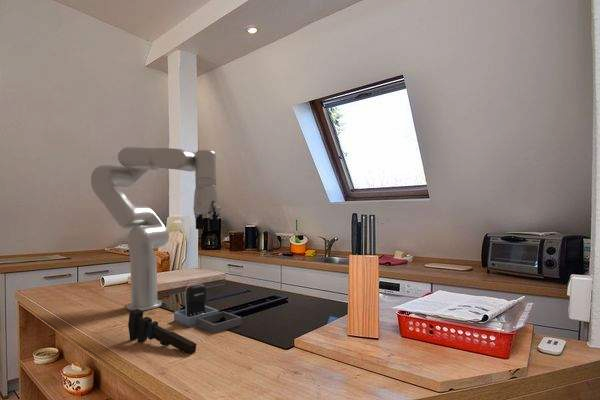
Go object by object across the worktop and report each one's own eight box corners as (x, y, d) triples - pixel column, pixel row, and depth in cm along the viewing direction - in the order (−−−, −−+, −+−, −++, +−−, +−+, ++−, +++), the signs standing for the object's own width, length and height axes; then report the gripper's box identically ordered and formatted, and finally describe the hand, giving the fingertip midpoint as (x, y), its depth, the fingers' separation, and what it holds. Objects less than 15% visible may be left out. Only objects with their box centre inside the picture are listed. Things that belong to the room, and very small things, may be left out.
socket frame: (197, 325, 120) (197, 318, 120) (223, 318, 127) (223, 311, 127) (214, 333, 113) (214, 325, 113) (241, 324, 120) (241, 317, 120)
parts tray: (174, 320, 126) (173, 311, 126) (203, 313, 134) (203, 305, 134) (188, 327, 119) (188, 318, 119) (218, 319, 127) (218, 310, 127)
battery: (190, 322, 122) (189, 287, 122) (184, 319, 125) (183, 286, 125) (208, 317, 127) (208, 284, 127) (202, 315, 130) (202, 282, 130)
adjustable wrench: (186, 372, 97) (126, 338, 109) (193, 368, 99) (134, 335, 111) (190, 342, 96) (129, 311, 108) (198, 339, 99) (137, 308, 111)
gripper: (185, 184, 141) (186, 229, 141) (209, 182, 129) (209, 231, 129) (203, 185, 146) (203, 228, 146) (227, 182, 134) (228, 229, 134)
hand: (206, 229), depth 137 cm, fingers open, 9 cm apart
